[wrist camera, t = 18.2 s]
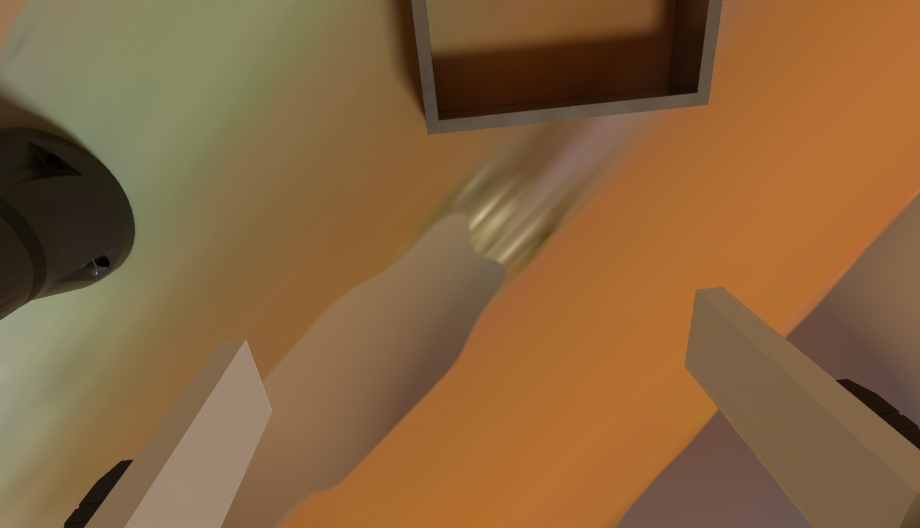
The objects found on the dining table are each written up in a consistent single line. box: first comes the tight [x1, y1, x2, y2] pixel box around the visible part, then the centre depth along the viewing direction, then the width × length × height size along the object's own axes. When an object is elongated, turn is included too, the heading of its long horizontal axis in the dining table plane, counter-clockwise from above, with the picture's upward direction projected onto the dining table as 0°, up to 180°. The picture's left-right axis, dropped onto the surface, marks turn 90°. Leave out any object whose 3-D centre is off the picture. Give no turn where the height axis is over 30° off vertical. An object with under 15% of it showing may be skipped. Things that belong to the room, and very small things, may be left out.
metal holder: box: [411, 0, 722, 135], centre depth 36 cm, size 23×14×5 cm, turn 95°
